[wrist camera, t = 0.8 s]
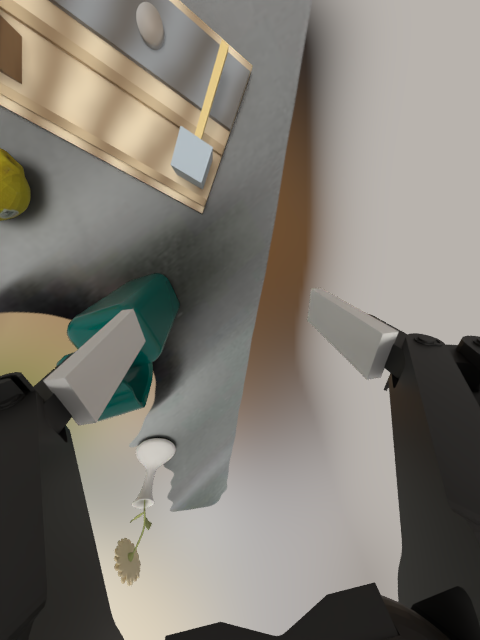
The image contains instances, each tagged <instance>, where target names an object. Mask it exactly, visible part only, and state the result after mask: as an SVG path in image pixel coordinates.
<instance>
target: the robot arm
mask: <svg viewBox="0 0 480 640" xmlns="http://www.w3.org/2000/svg"><path fill="white" fill-rule="evenodd" d="M308 322H309V323H311V325H312V326H313V327H314V328H315V329H317V331H318V332H320V334H322V335H323V336H324V337H325V338H326V339H327V340H328V341H329V342H330V343H331V344H332V345H333V346H334V347H335V348H336V349H337V350H338V351H339V352H340V353H341V354H342V355H343V356H344V357H345V358H346V359H347V360H348V361H349V362H350V363H351V364H352V365H353V366H354V367H355V368H356V369H357V370H358V371H359V372H360V373H361V374H362V375H363V376H364V377H365V378H366V379H373V378H380V377H381V376H382V373H383V370H384V368H385V369H387V370H388V371H389V372H390V376H389V378H388V381H387V383H386V385H385V388H384V390H386V391H387V389H388V388H389V392H390V404H391V415H392V427H393V440H394V452H395V464H396V476H397V487H398V499H399V511H400V523H401V534H402V556H401V559H400V564H399V570H398V597H399V598H398V599H399V602H397V601H394V600H392V599H389V598H387V597H385V596H382V595H380V593H379V590H378V588H377V586H376V584H375V583H371V584H367V585H363V586H360V587H355V588H352V589H348V590H344V591H340V592H336V593H332V594H328V595H326V596H325V597H324V598H323V599H322V600H321V601H320V602H319V603H317V604H316V605H315V606H314V607H313V608H312V609H311V610H310V611H309V612H308V613H306V614H305V616H303V617H302V618H301V619H300V620H299V621H298V622H297V623H295V625H293V626H292V627H291V628H290V629H289V630H288V631H287V632H285V633H284V634H283V635H280V636H272V635H269V634H265V633H261V632H257V631H253V630H249V629H246V628H242V627H238V626H234V625H230V624H227V623H223V622H218V623H214V624H211V625H207V626H203V627H199V628H195V629H191V630H188V631H183V632H180V633H175V634H172V635H167V636H166V637H165V640H480V337H478V336H465V337H463V338H462V339H461V341H460V343H459V344H458V345H445V344H444V343H443V342H442V341H440V340H439V339H437V338H434V337H431V336H428V335H423V334H408V335H407V334H405V333H404V332H402V331H400V330H398V329H396V328H394V327H393V326H391V325H389V324H386V322H384V321H382V320H380V319H378V318H376V317H375V316H373V315H370V314H367V313H365V312H363V311H361V310H359V309H358V308H356V307H354V306H352V305H351V304H349V303H347V302H345V301H343V300H342V299H340V298H338V297H336V296H334V295H333V294H331V293H329V292H327V291H326V290H324V289H322V288H313V289H311V294H310V302H309V311H308ZM145 342H146V341H145V338H144V335H143V333H142V330H141V327H140V325H139V322H138V319H137V317H136V314H135V312H134V309H128V310H122V311H121V312H120V313H118V314H117V315H116V316H115V317H114V318H113V319H112V320H111V321H109V322H108V323H107V324H106V325H105V326H104V327H103V328H102V329H101V330H99V331H98V332H97V333H96V334H95V335H94V336H93V337H92V338H90V339H89V340H88V341H87V342H86V343H85V344H84V345H83V346H81V347H80V348H79V349H78V350H77V351H76V352H74V353H72V354H71V355H69V356H68V357H67V358H66V359H65V360H63V361H62V363H60V364H59V365H58V366H57V367H55V369H53V370H52V371H51V372H50V373H49V374H47V375H46V376H45V377H44V378H43V379H42V380H41V381H40V382H38V383H37V384H36V385H35V386H34V387H33V386H32V385H31V384H30V383H29V382H28V380H27V379H26V378H25V377H24V376H23V374H22V373H19V372H15V373H9V374H5V375H2V376H0V640H124V638H123V636H122V635H121V633H120V631H119V630H118V628H117V626H116V625H115V622H114V620H113V617H112V614H111V610H110V606H109V601H108V597H107V592H106V588H105V584H104V579H103V575H102V570H101V566H100V562H99V558H98V553H97V549H96V544H95V539H94V536H93V531H92V526H91V522H90V517H89V513H88V509H87V504H86V500H85V495H84V491H83V486H82V482H81V478H80V473H79V469H78V464H77V460H76V455H75V451H74V447H73V442H72V438H71V434H70V430H69V429H68V428H67V426H66V424H67V423H68V421H69V420H70V418H71V417H72V418H73V419H74V420H75V422H76V423H77V424H78V425H84V424H91V423H96V422H97V421H98V419H99V417H100V416H101V414H102V413H103V411H104V409H105V408H106V406H107V404H108V403H109V401H110V399H111V398H112V396H113V394H114V393H115V391H116V389H117V388H118V386H119V384H120V383H121V381H122V379H123V378H124V376H125V375H126V373H127V371H128V370H129V368H130V366H131V365H132V363H133V361H134V360H135V358H136V356H137V355H138V353H139V351H140V350H141V348H142V346H143V345H144V343H145Z"/></svg>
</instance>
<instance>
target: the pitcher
mask: <svg viewBox="0 0 480 640" xmlns="http://www.w3.org/2000/svg"><path fill="white" fill-rule="evenodd" d="M179 307H180V305H179V301H178V299H177V297H176V295H175V293H174V291H173V288H172V286H171V284H170V282H169V280H168V279H167V278H166V277H165V276H164V275H162V274H158V273H154V274H151V275H148V276H144V277H141V278H138V279H135V280H132V281H129V282H127V283H126V284H124V285H123V286H121V287H120V288H118V289H116V290H115V291H113V292H112V293H110V294H109V295H107V296H106V297H104V298H103V299H101V300H100V301H98V302H97V303H95V304H94V305H92V306H91V307H89V308H88V309H86V310H85V311H83V312H82V313H80V314H79V315H77V316H76V317H75V318H74V319H73V320H72V321H71V322H70V323H69V325H68V329H67V335H68V338H69V340H70V341H71V342H72V344H73V345H74V346H75V347H76V348H77V349H79V348H80V347H81V346H83V345H84V344H85V343H86V342H87V341H88V340H89V339H90V338H92V337H93V336H94V335H95V334H96V333H97V332H98V331H99V330H101V329H102V328H103V327H104V326H105V325H106V324H107V323H108V322H109V321H111V320H112V319H113V318H114V317H115V316H116V315H117V314H118V313H120V312H121V311H122V310H128V309H134V312H135V314H136V317H137V319H138V322H139V325H140V327H141V330H142V333H143V335H144V338H145V341H146V342H145V343H144V345H143V346H142V348H141V350H140V351H139V353H138V355H137V356H136V358H135V360H134V361H133V363H132V365H131V366H130V368H129V370H128V371H127V373H126V375H125V376H124V378H123V379H122V381H121V383H120V384H119V386H118V388H117V389H116V391H115V393H114V394H113V396H112V398H111V399H110V401H109V403H108V404H107V406H106V408H105V409H104V411H103V413H102V414H101V416H100V417H99V419H98V421H102V420H105V419H108V418H112V417H115V416H118V415H121V414H125V413H128V412H131V411H134V410H137V409H141V408H143V407H145V405H146V401H147V398H148V394H149V391H150V386H151V383H152V376H153V366H152V362H154V361H155V360H156V359H157V358H159V357H160V355H161V353H162V351H163V348H164V345H165V343H166V340H167V338H168V335H169V333H170V330H171V327H172V325H173V322H174V320H175V317H176V315H177V312H178V309H179ZM71 354H72V353H71ZM71 354H68V355H65V356H64V357H63V358H62V359H61V360H60V361H58V362H57V366H58V365H59V364H60V363H62V361H63V360H65V359H66V358H67V357H68V356H69V355H71ZM57 366H56V367H57Z"/></svg>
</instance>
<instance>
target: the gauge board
mask: <svg viewBox="0 0 480 640" xmlns="http://www.w3.org/2000/svg"><path fill="white" fill-rule="evenodd" d="M221 40H222V38H221V37H220V36H219V35H218V34H216V33H215V32H214V31H213V30H212V29H211V28H210V27H209V26H207V25H206V24H205V23H204V22H203V21H202V20H201V19H200V18H199V17H197V16H196V15H195V14H194V13H193V12H192V11H191V10H190V9H188V8H187V7H186V6H185V5H184V4H183V3H182V2H181V1H179V0H0V105H1V106H3V107H5V108H7V109H9V110H10V111H12V112H14V113H16V114H18V115H20V116H22V117H23V118H25V119H27V120H29V121H31V122H33V123H35V124H36V125H38V126H40V127H42V128H44V129H46V130H48V131H49V132H51V133H53V134H55V135H57V136H59V137H61V138H62V139H64V140H66V141H68V142H70V143H72V144H74V145H75V146H77V147H79V148H81V149H83V150H85V151H87V152H88V153H90V154H92V155H94V156H96V157H98V158H100V159H101V160H103V161H105V162H107V163H109V164H111V165H113V166H114V167H116V168H118V169H120V170H122V171H124V172H126V173H127V174H129V175H131V176H133V177H135V178H137V179H139V180H140V181H142V182H144V183H146V184H148V185H150V186H152V187H153V188H155V189H157V190H159V191H161V192H163V193H165V194H166V195H168V196H170V197H172V198H174V199H176V200H178V201H179V202H181V203H183V204H185V205H187V206H189V207H191V208H192V209H194V210H196V211H198V212H200V213H203V210H204V208H205V205H206V202H207V199H208V196H209V193H210V190H211V187H212V184H213V181H214V179H215V176H216V173H217V170H218V167H219V164H220V161H221V158H222V155H223V152H224V149H225V147H226V144H227V141H228V138H229V135H230V132H231V129H232V126H233V123H234V120H235V118H236V115H237V112H238V109H239V106H240V103H241V100H242V97H243V94H244V91H245V88H246V86H247V83H248V80H249V77H250V74H251V70H252V67H253V66H252V65H251V64H250V63H249V62H248V61H247V60H246V59H244V58H243V57H242V56H241V55H240V54H239V53H238V52H237V51H235V50H234V49H233V48H232V47H231V46H230V45H229V44H228V43H227V42H226V43H227V44H228V45H229V49H228V54H227V57H226V61H225V64H224V67H223V71H222V74H221V77H220V81H219V84H218V87H217V91H216V94H215V97H214V101H213V104H212V107H211V111H210V114H209V117H208V121H207V124H206V127H205V131H204V134H203V137H202V140H203V141H204V142H206V143H207V144H209V145H210V146H212V147H213V160H212V163H211V166H210V169H209V172H208V175H207V178H206V181H205V185H204V188H203V190H202V189H201V188H199V187H197V186H195V185H194V184H192V183H190V182H189V181H187V180H185V179H183V178H182V177H180V176H178V175H177V174H176V173H175V171H174V169H173V168H172V166H171V161H172V157H173V153H174V149H175V145H176V141H177V137H178V134H179V130H180V126H182V127H184V128H185V129H187V130H188V131H190V132H191V133H192V134H194V135H195V131H196V128H197V124H198V121H199V117H200V114H201V110H202V107H203V103H204V100H205V96H206V93H207V89H208V86H209V82H210V79H211V75H212V72H213V68H214V65H215V61H216V58H217V54H218V51H219V47H220V44H221Z"/></svg>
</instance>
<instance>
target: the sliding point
mask: <svg viewBox="0 0 480 640" xmlns="http://www.w3.org/2000/svg"><path fill="white" fill-rule="evenodd" d="M228 49H229V45H228V44H227V43H226V42H225V41H224V40H223V39H222V40H221V44H220V47H219V51H218V54H217V58H216V61H215V65H214V68H213V72H212V75H211V79H210V82H209V86H208V89H207V93H206V96H205V100H204V103H203V107H202V110H201V114H200V117H199V121H198V124H197V128H196V131H195V135H194V134H192V133H191V132H190V131H188V130H187V129H185V128H184V127H182V126H180V130H179V134H178V137H177V141H176V145H175V149H174V153H173V157H172V161H171V166H172V168H173V169H174V171H175V173H176V174H177V175H178V176H180V177H182V178H183V179H185V180H187V181H189V182H190V183H192V184H194V185H195V186H197V187H199V188H201V189H202V190H203V188H204V185H205V181H206V178H207V175H208V172H209V169H210V166H211V163H212V160H213V147H212V146H210V145H209V144H207V143H206V142H204V141H203V140H202V137H203V134H204V131H205V127H206V124H207V121H208V117H209V114H210V111H211V107H212V104H213V101H214V97H215V94H216V91H217V87H218V84H219V81H220V77H221V74H222V71H223V67H224V64H225V61H226V57H227V54H228Z"/></svg>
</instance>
